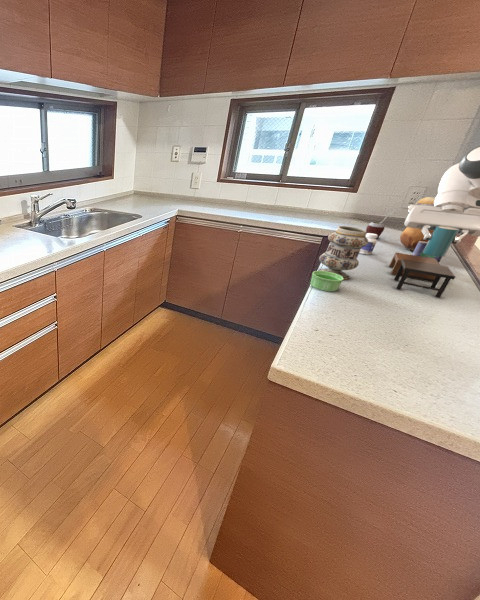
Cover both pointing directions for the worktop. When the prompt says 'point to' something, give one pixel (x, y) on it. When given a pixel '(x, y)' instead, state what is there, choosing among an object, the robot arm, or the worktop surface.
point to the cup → (440, 241)
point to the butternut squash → (415, 231)
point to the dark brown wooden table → (424, 269)
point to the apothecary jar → (343, 250)
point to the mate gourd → (376, 227)
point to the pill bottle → (369, 244)
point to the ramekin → (326, 280)
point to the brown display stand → (399, 256)
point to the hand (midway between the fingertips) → (441, 240)
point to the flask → (419, 251)
